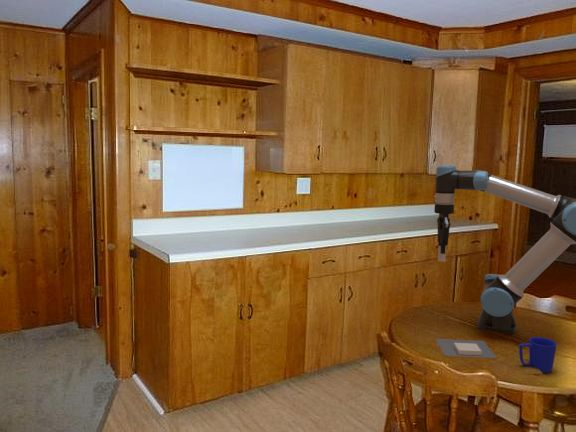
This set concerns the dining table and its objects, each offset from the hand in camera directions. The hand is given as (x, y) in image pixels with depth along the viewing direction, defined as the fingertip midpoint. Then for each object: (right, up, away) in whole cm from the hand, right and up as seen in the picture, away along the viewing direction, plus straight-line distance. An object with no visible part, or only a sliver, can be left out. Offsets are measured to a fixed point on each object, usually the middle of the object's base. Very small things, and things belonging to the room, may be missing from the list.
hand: (441, 260), depth 198 cm
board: (+3, -32, -19) cm, 37 cm away
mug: (+21, -34, -33) cm, 52 cm away
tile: (+3, -30, -19) cm, 35 cm away
